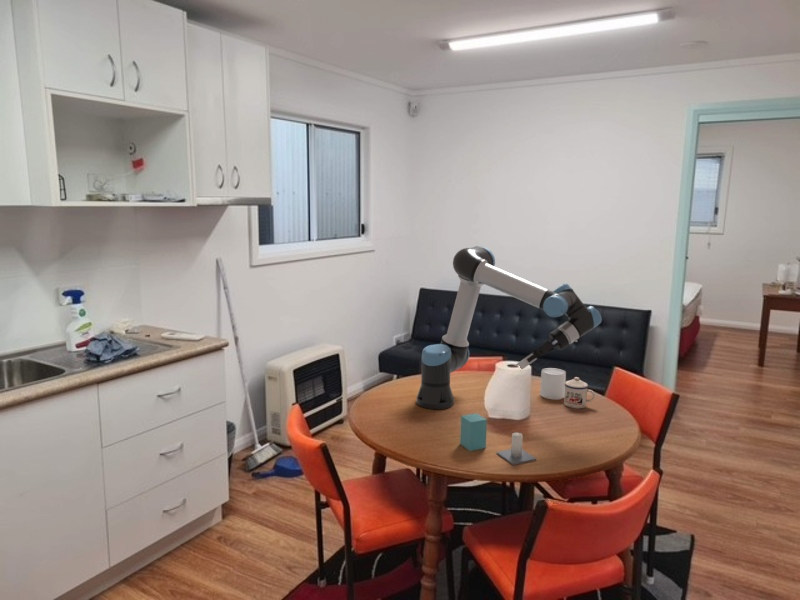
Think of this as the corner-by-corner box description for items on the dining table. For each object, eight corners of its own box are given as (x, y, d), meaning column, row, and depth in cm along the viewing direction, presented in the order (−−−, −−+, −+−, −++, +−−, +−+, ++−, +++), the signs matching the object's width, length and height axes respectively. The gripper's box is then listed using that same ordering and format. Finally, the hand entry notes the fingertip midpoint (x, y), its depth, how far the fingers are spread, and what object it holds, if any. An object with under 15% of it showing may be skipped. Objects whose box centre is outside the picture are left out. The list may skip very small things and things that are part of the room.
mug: (544, 388, 253) (545, 365, 251) (567, 391, 249) (569, 368, 247) (537, 397, 241) (539, 372, 239) (562, 400, 237) (563, 376, 235)
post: (512, 465, 177) (514, 442, 176) (496, 453, 185) (497, 431, 184) (536, 460, 181) (537, 437, 180) (519, 449, 189) (520, 427, 188)
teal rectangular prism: (469, 451, 187) (470, 422, 185) (460, 443, 193) (461, 415, 191) (485, 448, 190) (486, 419, 188) (475, 440, 195) (476, 413, 194)
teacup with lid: (561, 406, 230) (563, 378, 228) (565, 399, 238) (567, 373, 236) (592, 411, 225) (594, 383, 223) (595, 404, 233) (597, 377, 231)
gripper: (579, 339, 195) (529, 373, 193) (561, 350, 219) (516, 380, 217) (565, 321, 197) (516, 355, 194) (549, 334, 221) (504, 364, 219)
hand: (516, 368), depth 206 cm, fingers open, 13 cm apart
